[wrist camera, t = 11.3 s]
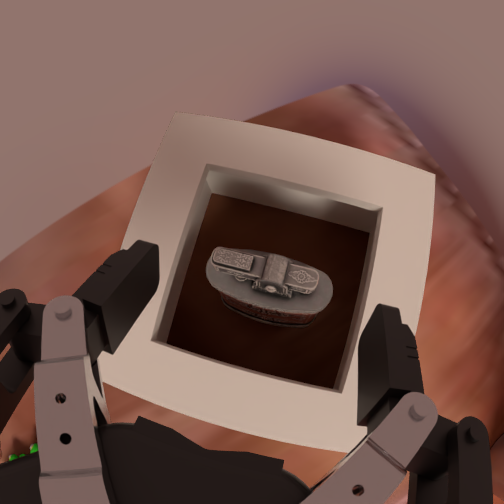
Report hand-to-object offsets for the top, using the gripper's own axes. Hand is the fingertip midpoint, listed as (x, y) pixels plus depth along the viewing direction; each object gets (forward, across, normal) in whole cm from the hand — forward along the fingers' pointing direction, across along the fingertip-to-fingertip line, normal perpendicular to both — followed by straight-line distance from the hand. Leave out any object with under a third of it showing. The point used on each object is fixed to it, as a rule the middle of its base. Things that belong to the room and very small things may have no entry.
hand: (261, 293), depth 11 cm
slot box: (+14, 0, +12) cm, 18 cm away
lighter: (+12, 0, +11) cm, 16 cm away
